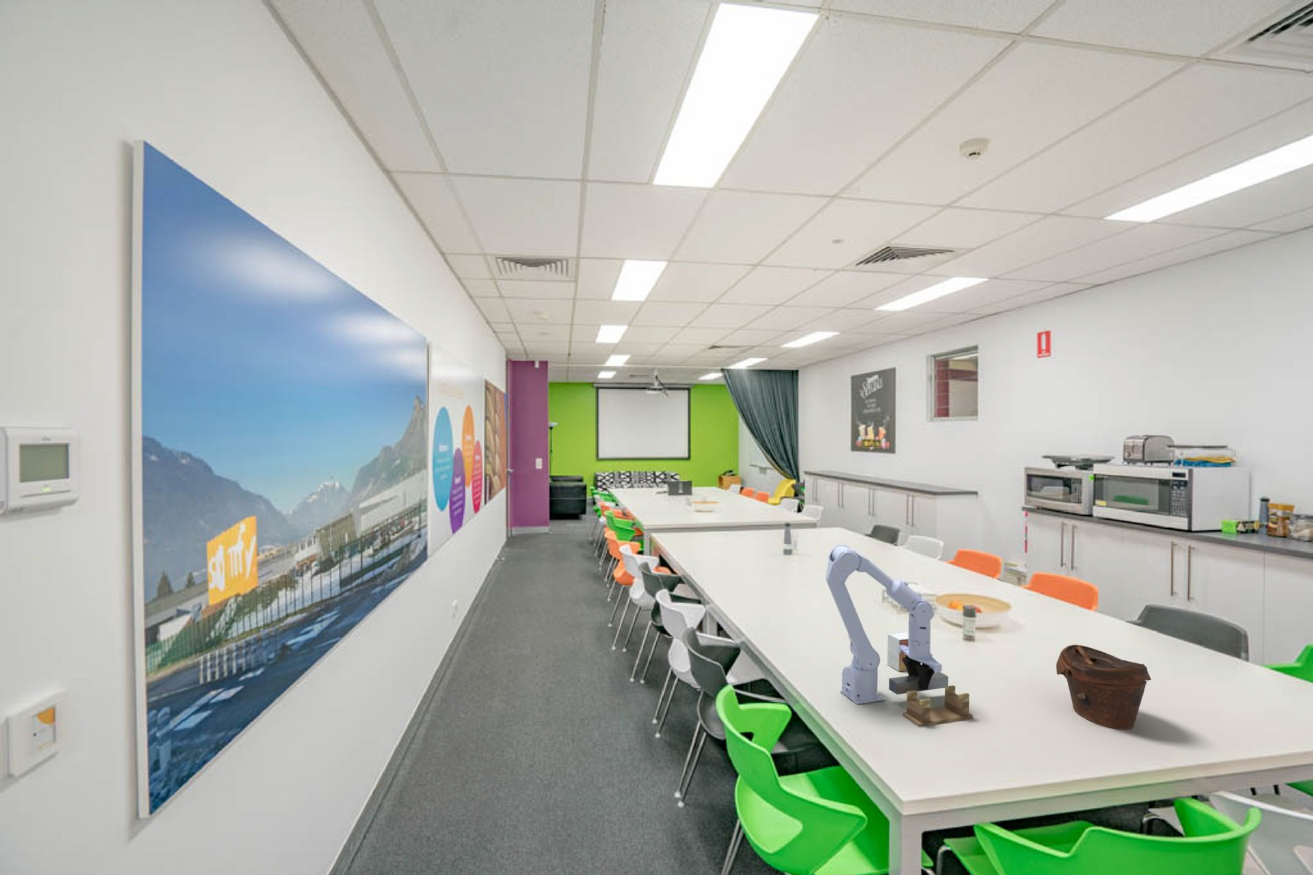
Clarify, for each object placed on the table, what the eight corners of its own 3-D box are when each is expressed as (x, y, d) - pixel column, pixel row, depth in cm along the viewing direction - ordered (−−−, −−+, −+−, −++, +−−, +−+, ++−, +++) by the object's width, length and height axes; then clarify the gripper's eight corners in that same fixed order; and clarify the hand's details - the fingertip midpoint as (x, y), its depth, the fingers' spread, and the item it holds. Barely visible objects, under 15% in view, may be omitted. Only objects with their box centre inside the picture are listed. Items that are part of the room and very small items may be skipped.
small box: (898, 671, 170) (899, 639, 170) (886, 664, 175) (887, 633, 175) (918, 669, 172) (919, 637, 172) (906, 662, 177) (906, 631, 177)
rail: (896, 694, 147) (897, 683, 147) (888, 689, 150) (889, 678, 150) (948, 687, 152) (948, 676, 152) (939, 682, 155) (939, 671, 155)
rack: (918, 726, 136) (919, 702, 137) (902, 715, 142) (902, 691, 142) (973, 718, 141) (973, 694, 141) (955, 707, 147) (955, 684, 147)
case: (1056, 692, 157) (1057, 633, 157) (1147, 715, 144) (1148, 651, 144) (1054, 716, 143) (1055, 652, 143) (1154, 744, 131) (1155, 673, 130)
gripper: (950, 647, 145) (950, 696, 145) (912, 629, 159) (911, 673, 159) (930, 649, 143) (929, 699, 143) (892, 631, 157) (892, 676, 157)
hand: (918, 686), depth 151 cm, fingers closed on rail, 3 cm apart
